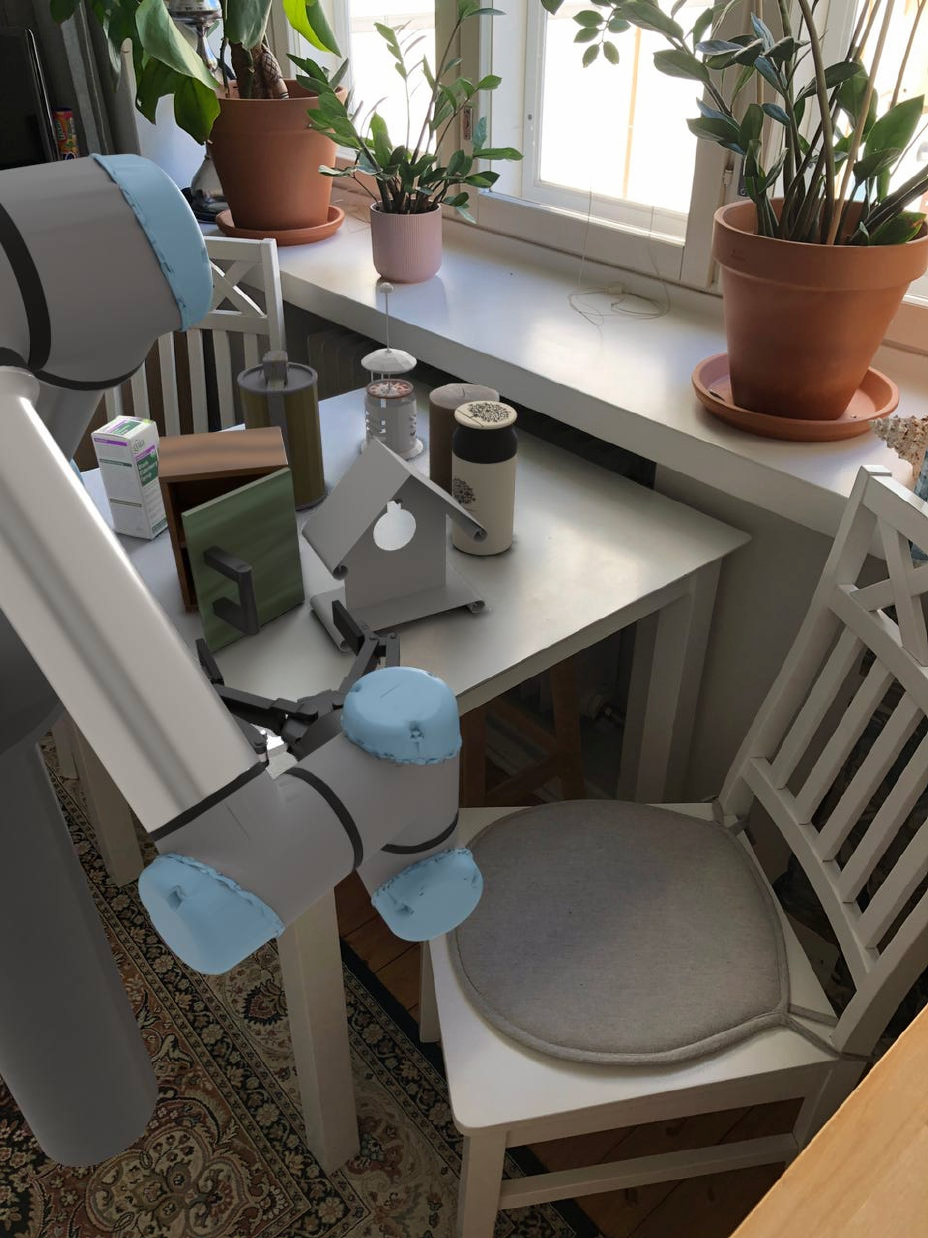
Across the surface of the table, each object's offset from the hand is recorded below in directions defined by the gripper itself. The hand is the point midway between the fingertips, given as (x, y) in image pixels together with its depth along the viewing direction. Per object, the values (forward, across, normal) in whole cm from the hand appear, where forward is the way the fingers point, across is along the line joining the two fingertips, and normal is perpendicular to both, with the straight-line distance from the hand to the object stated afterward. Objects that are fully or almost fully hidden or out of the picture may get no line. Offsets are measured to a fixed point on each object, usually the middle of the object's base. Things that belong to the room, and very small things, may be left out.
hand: (270, 629), depth 90 cm
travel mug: (+18, +34, -10) cm, 40 cm away
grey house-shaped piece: (+9, +18, -10) cm, 22 cm away
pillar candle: (+33, +39, -10) cm, 52 cm away
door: (+11, +3, -9) cm, 15 cm away
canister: (+42, +16, -10) cm, 46 cm away
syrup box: (+42, -4, -10) cm, 43 cm away
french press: (+50, +35, -10) cm, 62 cm away
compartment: (+23, +3, -9) cm, 25 cm away
